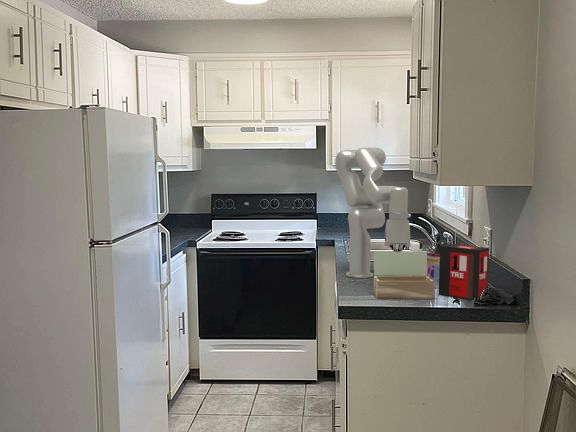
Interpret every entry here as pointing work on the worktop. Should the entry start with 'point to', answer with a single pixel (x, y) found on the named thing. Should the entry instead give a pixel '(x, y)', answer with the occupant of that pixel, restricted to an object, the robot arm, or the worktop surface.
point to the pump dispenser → (437, 248)
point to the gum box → (433, 268)
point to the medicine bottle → (416, 247)
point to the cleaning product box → (463, 271)
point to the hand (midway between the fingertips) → (397, 260)
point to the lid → (400, 263)
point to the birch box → (403, 287)
